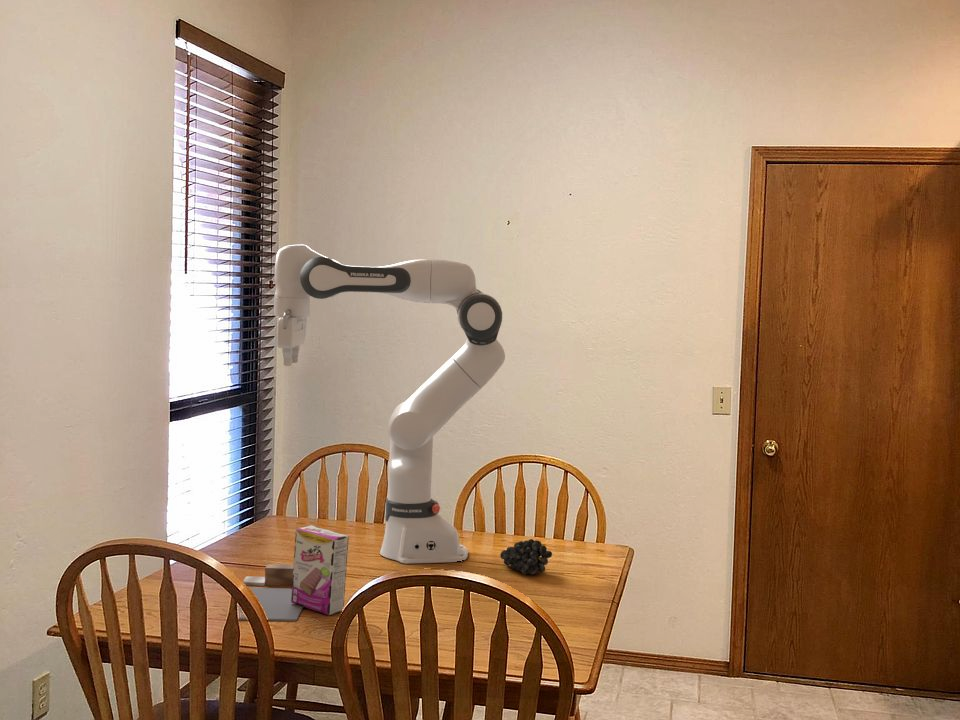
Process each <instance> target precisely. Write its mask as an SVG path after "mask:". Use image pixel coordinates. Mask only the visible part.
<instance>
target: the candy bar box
mask: <svg viewBox="0 0 960 720" xmlns="http://www.w3.org/2000/svg"><path fill="white" fill-rule="evenodd" d="M294 536H295V537H294V539H295V540H294V555H293V565H294V568H293V582H292V586H291V589H292V597H291V603H294V604H297V605H300V606H303V608H306V609H309V610H312V611H315V612H318V613H321V614H324V615H326V616H332V615H335V614H338V613H340V612H343V611H342V609H343V607H344V608H345V595H346V593H345V592H346V581H347V579H346V578H347V564H348V553H349V551H348V550H349V540H350V539H349V537H350V536H349V535H347V534H343V533H341V532H336V531H332V530H329V529H326V528H322V527H318V526H316V525H315V526H314V525H306V526H302V527H301V526H300V527H298V528H295V535H294Z"/></svg>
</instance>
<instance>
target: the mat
mask: <svg viewBox="0 0 960 720" xmlns="http://www.w3.org/2000/svg"><path fill="white" fill-rule="evenodd" d="M249 588H250V589H251V590H252V592H253V593H254V594H255V595H256V597H257V598H258V600H259V602H260V604H261V605H262V607H263V609H264V611H265V613H266V616H267V618H268V620H269V621H268V622H270V621H272V622H297V621H298V620H299V617H300V615H301V613H302V610H303V609H304V607H303V606H300V605H297V604H294V603H291V597H292V588H286V587H285V588H283V587H278V588H277V587H249ZM238 607H239V620H238V621H248V620H247V619H246V617H245V616H244V614H243V612H242V610H241V608H240V606H238ZM240 612H241V613H242V614H243V615H241V617H240Z"/></svg>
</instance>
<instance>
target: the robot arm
mask: <svg viewBox="0 0 960 720" xmlns="http://www.w3.org/2000/svg"><path fill="white" fill-rule="evenodd" d="M476 280H477V279H476V275H475V273H474V270H473V268H472V267H471V266H469V265H468V264H466V263H461V262H459V261H452V260H444V259H435V258H434V259H433V258H431V259H429V258H425V259H412V260H411V259H410V260H406V261H401V262H398V263H394V264H390V265H384V266H368V265H367V266H366V265H364V266H363V265H361V266H360V265H346V264H342V263H340V262H339V261H338V260H335V259H332V258H329V257H327V256H324V255H323V254H320V253H318V252H316V251H315V250H314V249H311V248H310V246H308V245H307V244H291V245H286V246H282V247H280V248H279V250H278V251H277V253H276V256H275V264H274V284H275V292H274V296H273V316H275V317H278V322H277V341H276V344H277V348H279V349H281V351H282V357H283V366H285V367H290V366H292V365H293V364H296V363H298V362H299V353H300V350H301V349H300V345H301V346H302V345H304V343H305V339H306V334H307V333H306V331H307V322H308V320H307V319H308V317H310V316H311V315H310V313H311V311H310V307H311V297H312V298H314V299H318V300H323V299H324V300H325V299H327V298H332V297H336V296H337V295H340V294H342V293H350V292H351V293H352V292H355V293H357V292H358V293H379V294H383V295H384V294H385V295H388V296H392V297H395V298H398V299H401V300H405V301H410V302H415V303H422V304H444V305H449V306H452V307H453V308H455V309H456V313H457V321H458V324H459V325H460V326H459V327H460V328H461V329H462V330H463V332H464V333H465V335H466V340H465V342H464V344H463V345H462V346H461V347H460V348H459V350H458V351H457V352H455V353H454V354H453V355H452V356H450V358H449V359H448V360H447V361H446V362H445V363H443V364H442V365H441V366H440V367H439V368H438V369H437V370H436V371H435V372H433V373H432V374H431V376H430V377H428V379H426V380H425V382H424V383H423V384H421V386H420V387H419V388H418V389H417V390H416V391H415V392H413V394H411V396H410V397H409V398H407V399H406V400H405V401H403V402H401V403H400V404H398V405H397V406H396V407H395V408H394V410H393V411H392V414H391V416H390V418H389V420H388V425H387V431H388V434H389V435H388V436H389V438H390V439H389V441H390V442H389V454H388V455H389V458H388V459H389V460H388V470H387V472H388V473H387V474H388V476H387V477H388V478H387V498H386V500H385V506H384V507H385V508H384V518H385V521H386V522H385V530H384V536H383V541H382V544H381V547H380V548H381V549H380V551H379V554H380V555H381V556H383V557H384V558H386V559H390V560H394V561H397V562H398V563H400V564H401V563H402V564H433V563H437V564H438V563H458V562H457V561H461V562H463V561H462V560H464V561H465V560H467V558H468V557H469V556H468V555H469V552H468V551H469V550H468V548H467V547H466V546H464V544H463V545H462V544H461V542H460V537H459V533H458V530H457V528H456V527H455V526H454V525H452V523H450V522H449V521H447V520H446V519H445V518H444V517H442V516H441V515H440V514H439V512H440V511H441V507H440V505H439V501H437V500H434V499H433V498H432V475H433V474H432V472H433V471H432V469H433V467H432V466H433V447H434V446H433V445H434V444H433V443H434V436H435V435H436V434H437V433H438V432H439V431H440V430H441V429H442V428H443V427H444V426H445V425H446V424H447V423H448V422H449V421H450V420H451V419H452V417H454V415H456V413H457V412H459V410H460V409H461V408H462V407H463V406H464V405H465V404H466V403H467V402H469V401H470V400H471V399H472V398H473V397H475V396H476V394H477V393H478V392H479V391H480V390H482V388H483V387H485V386H486V385H487V384H488V382H489V381H490V380H492V378H493V377H494V376H495V375H496V373H497V372H498V371H499V369H501V367H502V365H503V364H504V362H505V360H506V352H505V350H504V348H503V346H502V344H501V343H500V342H499V341H498V339H497V338H498V335H499V332H500V329H501V326H502V322H503V311H502V307H501V305H500V303H499V302H498V301H497V299H495V297H493V296H491V295H490V294H487V293H484V292H483V291H480V290H479V289H477V286H476V285H477V281H476Z"/></svg>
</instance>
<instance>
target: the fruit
mask: <svg viewBox="0 0 960 720" xmlns="http://www.w3.org/2000/svg"><path fill="white" fill-rule="evenodd" d="M547 549H548V548H547V546H546V545H544V544H542V542H541V540H537V539H536V540H535V539H533V538H530V539H528V540H527V539H526V540H524V541H522V540H520V541H518V542H517V541H516V542H515V543H514V545H513V546H508V547H507V548H506V549H504V550H502V551H501V552H500V554H499V556H500V557H499V558H500V559H501V560H503V564H504V565H505V566H510V567H511V569H512V570H514V571H515V570H517V571H519V572H521V574H523V575H528V574H530V575H532V576H536V575H537V574H538V573H540V574H543V573H545V572H546V566H547V565H548V563H549V560H548V559H550V558H552V557H553V552H552V551H551V550H547Z"/></svg>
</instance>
